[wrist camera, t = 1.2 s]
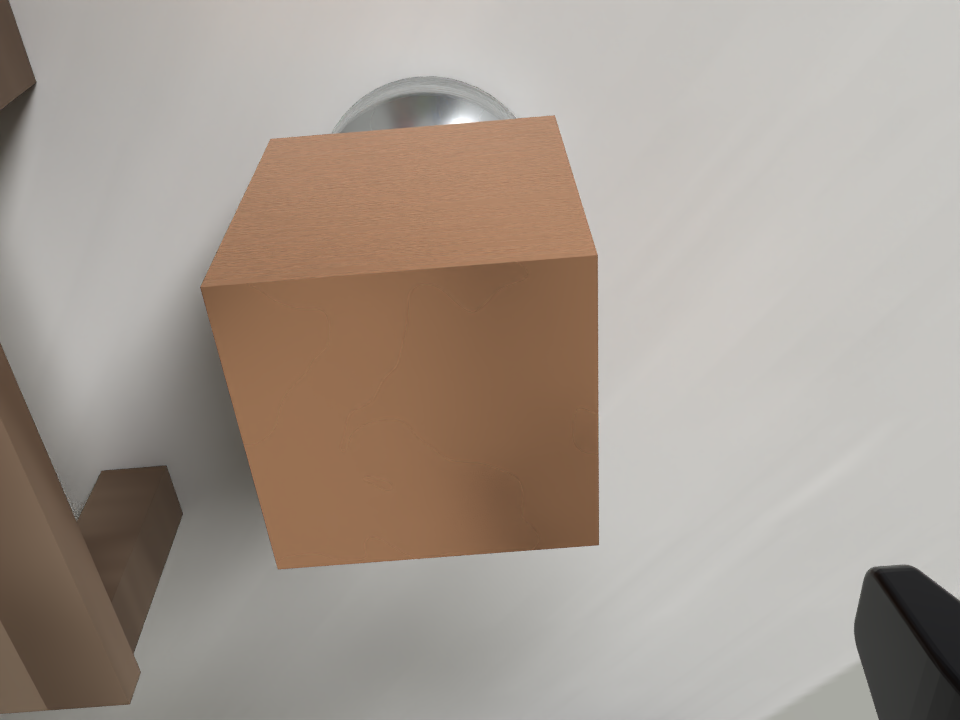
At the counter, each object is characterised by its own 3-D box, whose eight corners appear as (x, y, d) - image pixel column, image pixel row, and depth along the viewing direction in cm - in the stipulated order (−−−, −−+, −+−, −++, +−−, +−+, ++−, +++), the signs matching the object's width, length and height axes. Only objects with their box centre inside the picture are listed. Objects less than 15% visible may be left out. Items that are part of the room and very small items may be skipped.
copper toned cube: (546, 275, 20) (598, 544, 13) (336, 292, 20) (277, 569, 13) (538, 61, 17) (597, 254, 10) (297, 81, 17) (200, 287, 11)
